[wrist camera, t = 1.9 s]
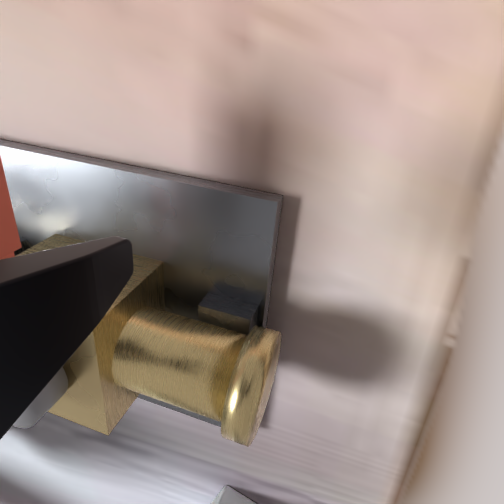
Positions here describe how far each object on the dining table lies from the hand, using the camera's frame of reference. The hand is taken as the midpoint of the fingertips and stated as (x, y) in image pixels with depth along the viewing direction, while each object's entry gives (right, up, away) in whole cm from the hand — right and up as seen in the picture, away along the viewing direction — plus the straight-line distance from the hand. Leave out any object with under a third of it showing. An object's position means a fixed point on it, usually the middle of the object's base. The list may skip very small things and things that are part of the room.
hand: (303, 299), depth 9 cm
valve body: (-8, -1, +12) cm, 15 cm away
